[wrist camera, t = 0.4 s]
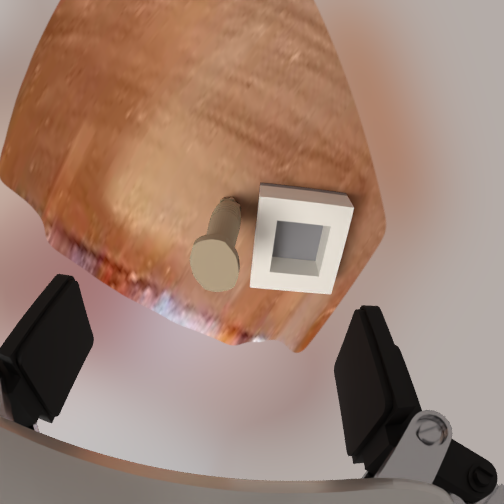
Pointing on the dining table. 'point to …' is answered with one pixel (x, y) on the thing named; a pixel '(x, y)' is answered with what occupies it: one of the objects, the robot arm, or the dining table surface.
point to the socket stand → (299, 238)
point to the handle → (218, 249)
